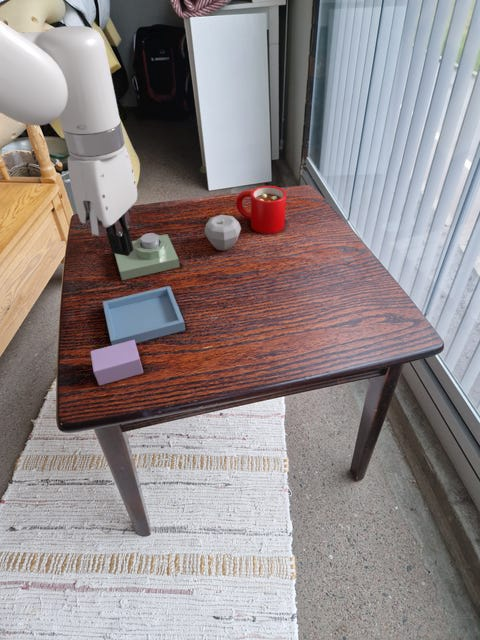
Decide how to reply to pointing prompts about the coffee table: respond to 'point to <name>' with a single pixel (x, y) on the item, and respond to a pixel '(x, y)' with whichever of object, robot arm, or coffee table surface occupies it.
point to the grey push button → (149, 241)
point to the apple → (222, 231)
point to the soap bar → (116, 362)
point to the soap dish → (143, 316)
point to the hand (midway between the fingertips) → (122, 251)
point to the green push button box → (147, 259)
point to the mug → (264, 208)
